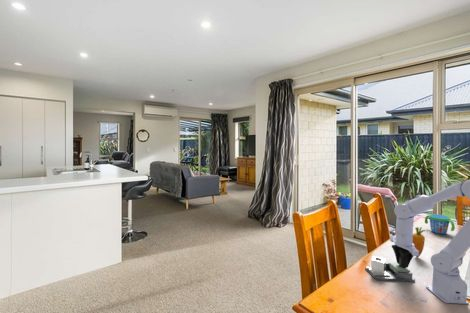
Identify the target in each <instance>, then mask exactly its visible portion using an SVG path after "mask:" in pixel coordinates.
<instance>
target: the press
mask: <svg viewBox="0 0 470 313" xmlns="http://www.w3.org/2000/svg"><path fill="white" fill-rule="evenodd" d="M390 263H391V262H387V261H386V262H385V272H384V275H381V274H378V273H374V272H371V266H365V267H364V269H365V270H366V271H367V272H368V273H369V275H370V276H371V277H372V278H373V279H374V280H375V281H380V282H383V281H384V282H404V283H416V279H415V278H414V277H413V272H411V271H410V272H394V271H393V270H392V269H391V268H390Z"/></svg>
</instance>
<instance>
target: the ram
mask: <svg viewBox="0 0 470 313" xmlns="http://www.w3.org/2000/svg"><path fill="white" fill-rule="evenodd" d="M389 263H390V268H391V269H392V270H393V271H394V272H411V270H410V269H409V267H408V268H406V267H402V265H401V256H400V257H399V264H398V263H397V262H389Z"/></svg>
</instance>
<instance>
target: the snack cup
mask: <svg viewBox="0 0 470 313" xmlns="http://www.w3.org/2000/svg"><path fill="white" fill-rule="evenodd" d="M428 219H429V221H428ZM428 223H429V227H430V231H431V232H432V233H434V232H435V234H438V233H439V234H438V235H446V234H447V233H448V229H449V225H451V228H450V231H451V232H453V231H455V228H456V226H455V223H454V221H453V220H452V219H451V217H450V216H447V215H442V214H435V213H431V214H428V215H426V216H425V218H424V224H428Z"/></svg>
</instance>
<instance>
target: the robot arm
mask: <svg viewBox="0 0 470 313" xmlns="http://www.w3.org/2000/svg"><path fill="white" fill-rule="evenodd" d="M453 197H466V198H467V199H468V200H469V201H470V179H467V180H465V181H462V182H458V183H454V184H452V185H449V186H448V187H445V188H444V189H441V190H439V191H436V192H435V193H433V194H431V195H426V194H422V195H421V194H417V195H415V197H414V198H413V199H410V200H405V201H404V203H398V204H397V205H396V206H394V209H393V212H394V214H395V216H396V222H395V224H396V225H395V236H390V237H389V241H390V242H392V243H394V244H392V245H391V248H392V250H393V252H394V256H395V259H396V263H398V264H399V257H400V256H401V265H402V267H406V268H408V269H409V265H410V263H411V262H412V260H413V258H414V257H416V256H419V251H418V250H417V249H416V248H415V247H414V246H415V244H413V243H412V239H413V234H414V218H415V217H416V216H417V215H419V214H422V213H425V212H428V211H431V210H432V209H434V208H435V205H436V204H437V203H440V202H442V201H443V202H444V201H446V200H448V199H451V198H453ZM469 249H470V217H469V218H468V219H467V220H466V222H465V223H464V224H463V225H462V226H461V228H460V229H459V230H458V231H457V233H456V234H455V235H454V236H453V238H452V239H451V240H450V242H448V244H447V245H445V246H444V248H442V249H441V250H440V251H439V252H438V253H434V254H433V255H431V257H430V264H431V266H432V279H431V280H432V283H431V285H425V288H426V289H427V290H429V291H430V292H431V293H432V294H434V295H435V296H436V297H437V298H439V299H440V300H441V301H442V302H444V303H446V304H461V305H469V303H470V302H469V301H468V300H467V298H468V297H467V295H468V284H467V283H466V281H465V280H464V279H462V277H461V275H460V268H459V267H461V266H462V265H463V262H464V257H465V256H466V253H467V251H468V250H469ZM419 257H420V256H419Z"/></svg>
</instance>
